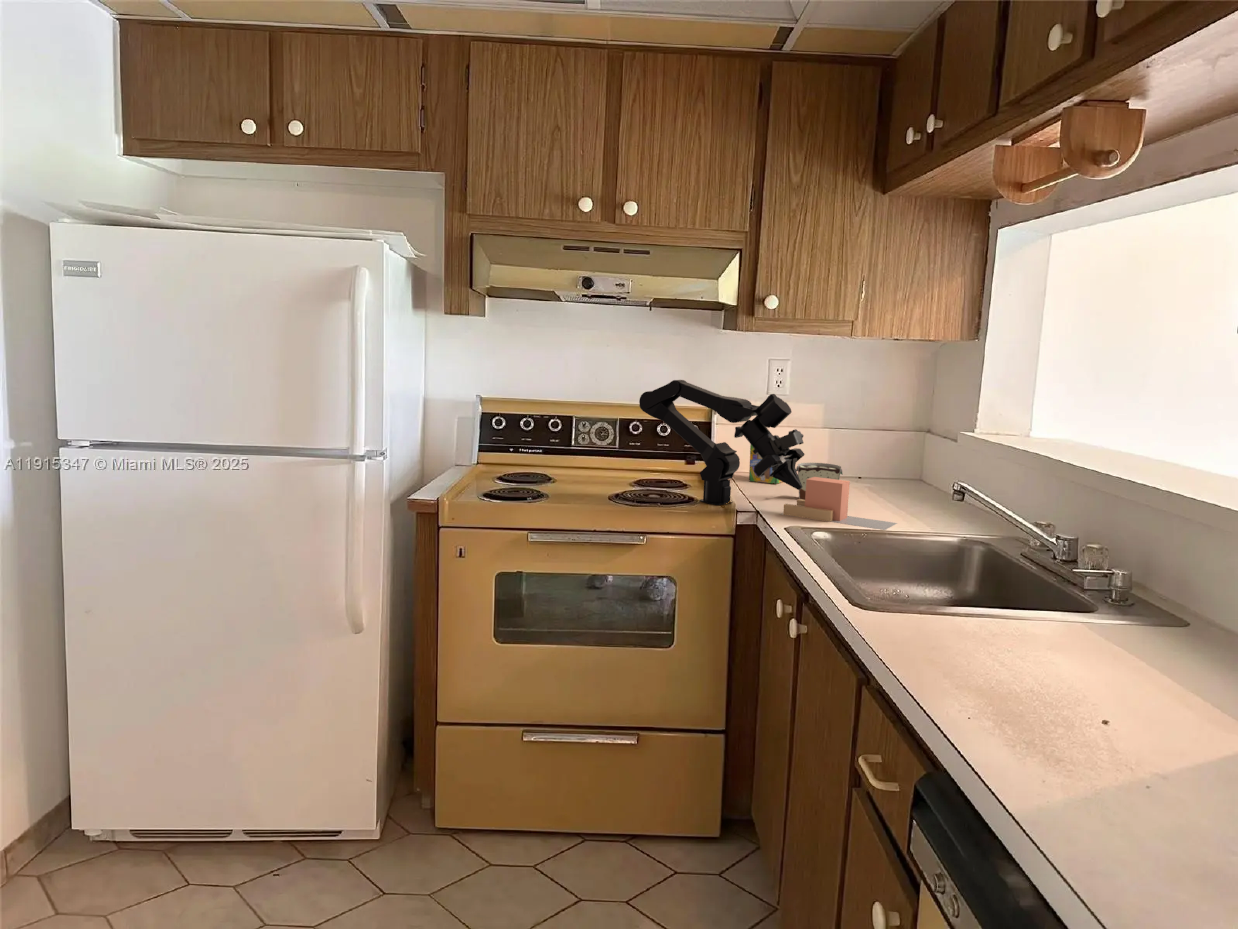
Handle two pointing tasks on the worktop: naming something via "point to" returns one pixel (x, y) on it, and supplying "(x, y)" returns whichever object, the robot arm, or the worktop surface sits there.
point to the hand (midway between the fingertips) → (800, 488)
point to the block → (828, 495)
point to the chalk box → (766, 478)
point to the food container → (816, 473)
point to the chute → (831, 516)
